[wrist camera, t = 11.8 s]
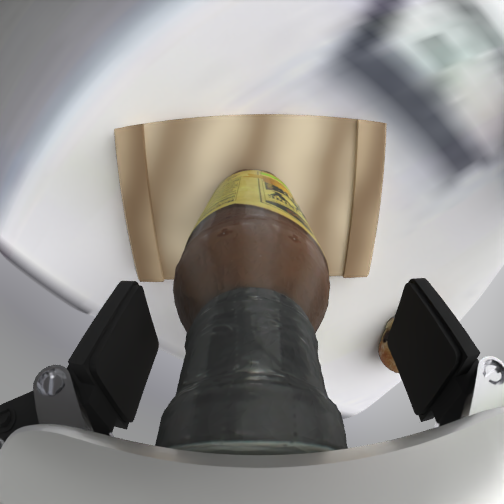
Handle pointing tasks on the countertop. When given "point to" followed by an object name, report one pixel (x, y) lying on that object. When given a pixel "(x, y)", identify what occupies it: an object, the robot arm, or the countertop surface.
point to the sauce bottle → (252, 328)
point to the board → (251, 157)
